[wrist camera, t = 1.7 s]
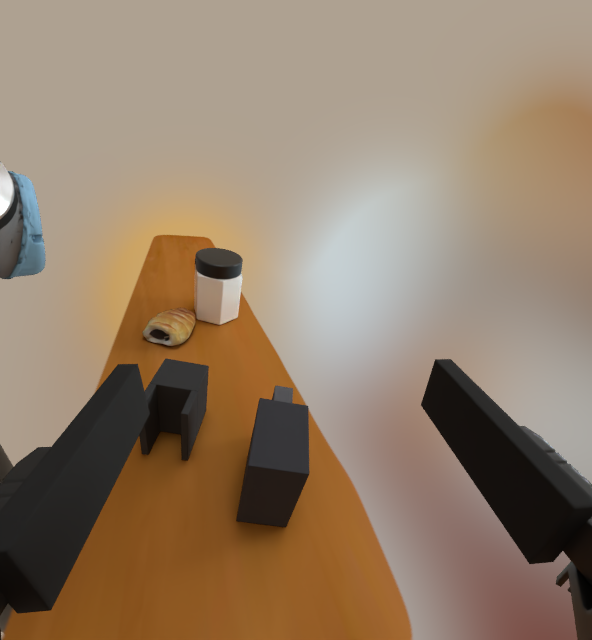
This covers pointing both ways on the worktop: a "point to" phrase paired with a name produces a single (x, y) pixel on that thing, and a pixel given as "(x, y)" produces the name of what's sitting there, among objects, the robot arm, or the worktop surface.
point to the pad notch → (175, 404)
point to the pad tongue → (275, 461)
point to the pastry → (170, 327)
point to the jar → (217, 285)
